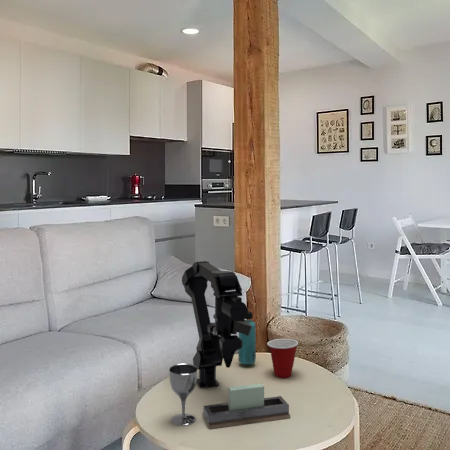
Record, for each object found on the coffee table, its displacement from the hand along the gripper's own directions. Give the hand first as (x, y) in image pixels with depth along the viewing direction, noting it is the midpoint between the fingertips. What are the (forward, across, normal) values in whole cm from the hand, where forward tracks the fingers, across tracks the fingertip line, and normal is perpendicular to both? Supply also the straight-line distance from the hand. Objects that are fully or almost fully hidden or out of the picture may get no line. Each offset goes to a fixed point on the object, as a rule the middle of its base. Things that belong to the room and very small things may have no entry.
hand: (224, 361), depth 156 cm
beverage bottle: (+12, +25, -16) cm, 32 cm away
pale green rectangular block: (+11, -13, -3) cm, 17 cm away
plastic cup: (+12, +13, -25) cm, 31 cm away
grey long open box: (+12, -13, -3) cm, 18 cm away
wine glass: (+12, -10, +15) cm, 21 cm away
